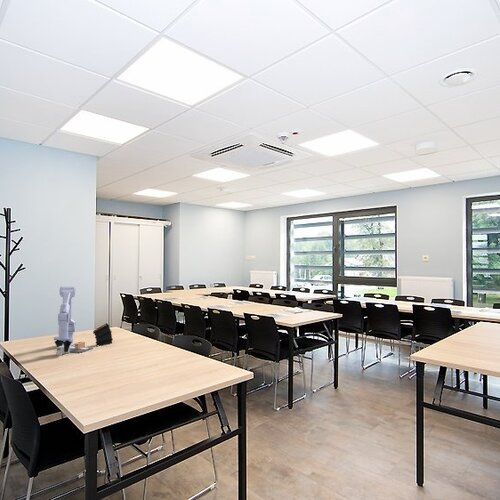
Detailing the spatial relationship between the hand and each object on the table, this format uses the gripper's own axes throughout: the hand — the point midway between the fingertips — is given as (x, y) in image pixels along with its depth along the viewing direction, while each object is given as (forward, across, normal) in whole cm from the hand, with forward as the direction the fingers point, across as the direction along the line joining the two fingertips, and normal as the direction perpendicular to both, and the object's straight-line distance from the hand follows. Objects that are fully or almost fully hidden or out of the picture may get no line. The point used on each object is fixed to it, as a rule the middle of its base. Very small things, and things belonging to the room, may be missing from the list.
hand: (63, 351), depth 235 cm
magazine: (+2, +5, +31) cm, 31 cm away
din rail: (+1, -1, +11) cm, 11 cm away
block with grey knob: (0, +3, +11) cm, 11 cm away
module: (+1, 0, 0) cm, 1 cm away
